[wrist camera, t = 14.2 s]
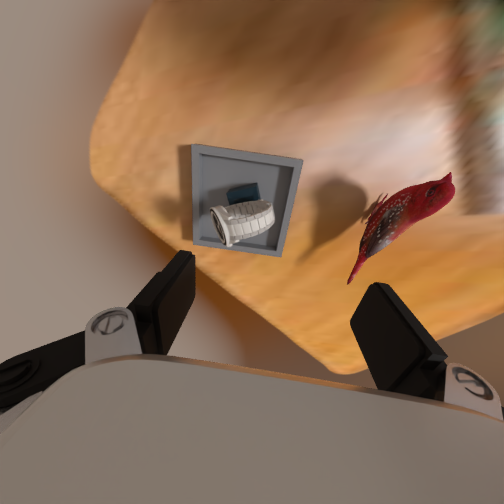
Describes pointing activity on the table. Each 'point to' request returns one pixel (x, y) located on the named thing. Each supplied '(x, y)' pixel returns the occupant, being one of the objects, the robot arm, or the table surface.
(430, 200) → the decorative bird figurine
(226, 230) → the watch
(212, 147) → the tray
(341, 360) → the table surface
